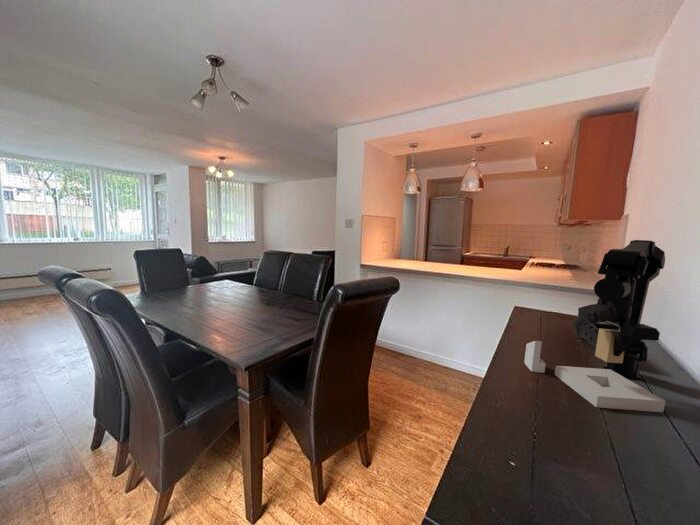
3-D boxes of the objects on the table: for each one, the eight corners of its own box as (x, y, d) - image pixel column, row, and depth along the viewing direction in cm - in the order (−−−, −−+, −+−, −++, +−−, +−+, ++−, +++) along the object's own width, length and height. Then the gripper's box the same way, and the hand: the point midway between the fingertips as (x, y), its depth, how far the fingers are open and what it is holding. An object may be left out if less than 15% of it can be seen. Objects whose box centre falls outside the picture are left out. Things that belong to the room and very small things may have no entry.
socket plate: (609, 378, 86) (610, 369, 86) (663, 412, 70) (665, 401, 70) (554, 374, 87) (555, 365, 87) (596, 407, 71) (597, 396, 71)
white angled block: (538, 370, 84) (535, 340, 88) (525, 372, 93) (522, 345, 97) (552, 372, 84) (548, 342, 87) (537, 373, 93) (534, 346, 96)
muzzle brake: (597, 362, 98) (601, 333, 97) (569, 335, 124) (573, 312, 123) (632, 368, 95) (638, 338, 93) (596, 339, 120) (600, 315, 119)
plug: (609, 356, 80) (614, 329, 79) (622, 363, 76) (627, 334, 75) (594, 355, 80) (599, 328, 79) (606, 362, 76) (611, 333, 75)
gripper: (563, 287, 85) (556, 337, 87) (617, 304, 67) (607, 366, 69) (601, 289, 85) (594, 339, 87) (667, 307, 66) (655, 370, 68)
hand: (609, 352), depth 78 cm, fingers closed on plug, 4 cm apart
